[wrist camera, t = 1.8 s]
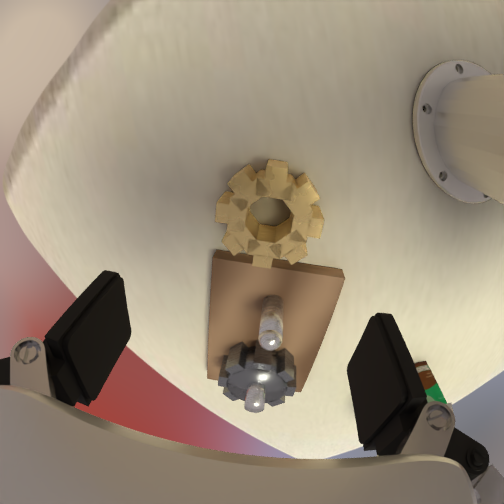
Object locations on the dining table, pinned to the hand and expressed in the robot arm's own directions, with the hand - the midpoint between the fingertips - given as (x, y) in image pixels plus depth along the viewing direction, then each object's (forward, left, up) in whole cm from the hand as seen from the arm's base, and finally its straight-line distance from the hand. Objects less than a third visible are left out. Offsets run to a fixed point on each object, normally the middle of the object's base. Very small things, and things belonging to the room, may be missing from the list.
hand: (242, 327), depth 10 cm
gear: (-2, +16, -12) cm, 20 cm away
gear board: (-2, +12, -14) cm, 19 cm away
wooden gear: (0, 0, -14) cm, 14 cm away
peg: (-2, +8, -12) cm, 15 cm away
